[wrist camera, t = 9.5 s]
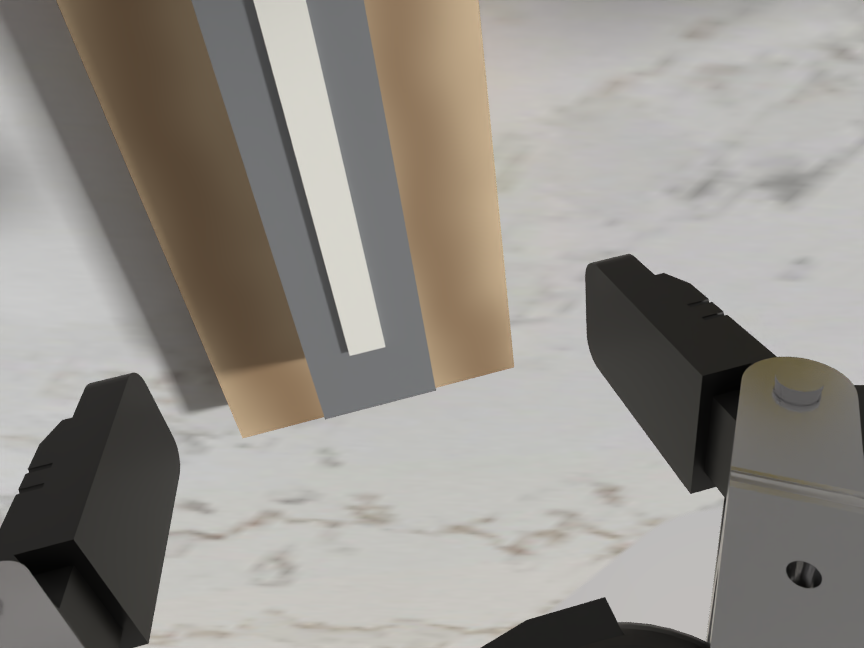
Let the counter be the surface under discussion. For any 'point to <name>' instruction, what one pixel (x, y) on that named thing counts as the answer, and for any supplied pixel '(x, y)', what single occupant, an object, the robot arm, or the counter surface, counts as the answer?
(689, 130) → the counter surface
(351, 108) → the strip
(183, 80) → the socket board
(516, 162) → the counter surface
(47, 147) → the counter surface
